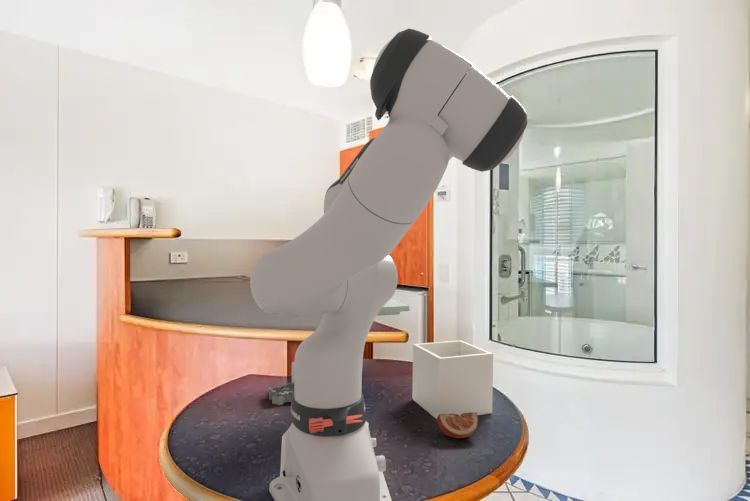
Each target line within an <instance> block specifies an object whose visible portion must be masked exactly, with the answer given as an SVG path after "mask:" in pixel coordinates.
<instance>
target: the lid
mask: <svg viewBox="0 0 750 501" xmlns="http://www.w3.org/2000/svg"><path fill="white" fill-rule="evenodd" d="M401 312H410V305H408V304H405V303H402V302H400V301H397V300H394V299H392V298H391V299H390V300H389V301H388V302H387V303H386V304H385V305H384V306H383V307H382V308H381V310H380V311H379V312H378V314H377V316H376V317H378V316H379V317H381V316H395V315H396V316H398V315H401V314H400V313H401Z"/></svg>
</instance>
